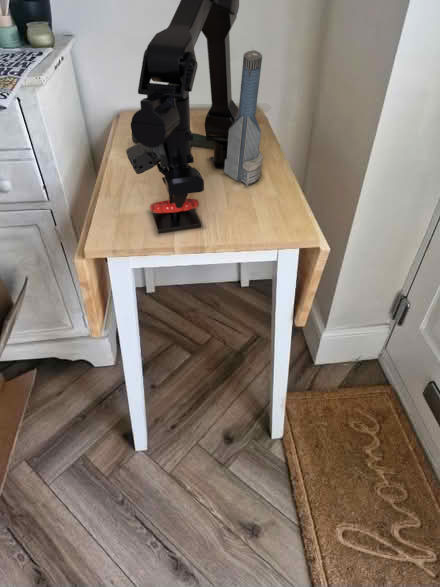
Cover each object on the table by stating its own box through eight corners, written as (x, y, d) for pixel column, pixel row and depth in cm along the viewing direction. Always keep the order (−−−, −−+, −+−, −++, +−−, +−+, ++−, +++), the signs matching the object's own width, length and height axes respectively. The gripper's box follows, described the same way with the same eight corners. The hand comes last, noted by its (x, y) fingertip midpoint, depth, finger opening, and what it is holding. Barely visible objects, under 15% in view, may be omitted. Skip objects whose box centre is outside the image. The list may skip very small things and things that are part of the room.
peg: (151, 211, 93) (147, 177, 88) (191, 206, 95) (190, 172, 90) (158, 234, 87) (154, 198, 81) (201, 227, 88) (200, 192, 83)
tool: (130, 146, 119) (127, 122, 114) (137, 137, 123) (134, 114, 119) (227, 155, 116) (228, 131, 111) (231, 146, 120) (232, 122, 116)
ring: (148, 210, 92) (147, 202, 91) (193, 204, 94) (192, 196, 93) (153, 215, 83) (152, 206, 82) (203, 209, 85) (202, 199, 84)
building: (258, 187, 102) (277, 48, 81) (220, 182, 103) (230, 43, 82) (262, 167, 109) (280, 34, 88) (227, 163, 110) (237, 30, 89)
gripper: (120, 110, 79) (130, 188, 89) (133, 151, 65) (144, 236, 76) (179, 106, 81) (183, 181, 91) (204, 144, 68) (205, 228, 78)
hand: (178, 205), depth 84 cm, fingers closed on ring, 1 cm apart
